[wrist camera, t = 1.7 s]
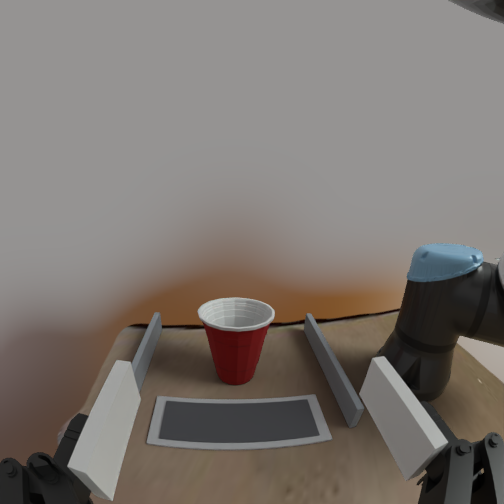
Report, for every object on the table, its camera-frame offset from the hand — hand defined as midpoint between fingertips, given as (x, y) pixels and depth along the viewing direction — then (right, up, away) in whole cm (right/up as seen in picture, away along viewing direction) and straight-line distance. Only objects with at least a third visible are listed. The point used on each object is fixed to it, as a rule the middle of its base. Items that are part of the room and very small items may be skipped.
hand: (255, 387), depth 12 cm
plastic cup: (-3, -13, +29) cm, 32 cm away
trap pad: (-2, -16, +18) cm, 24 cm away
